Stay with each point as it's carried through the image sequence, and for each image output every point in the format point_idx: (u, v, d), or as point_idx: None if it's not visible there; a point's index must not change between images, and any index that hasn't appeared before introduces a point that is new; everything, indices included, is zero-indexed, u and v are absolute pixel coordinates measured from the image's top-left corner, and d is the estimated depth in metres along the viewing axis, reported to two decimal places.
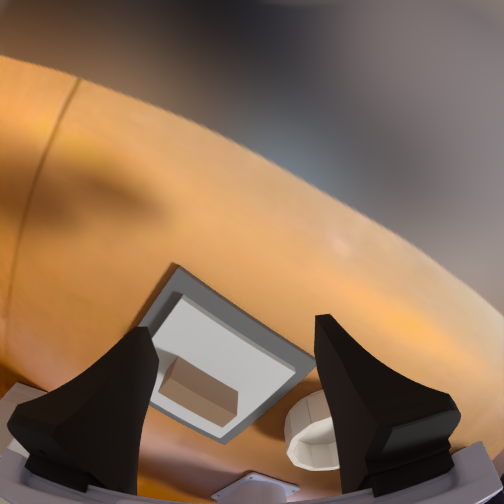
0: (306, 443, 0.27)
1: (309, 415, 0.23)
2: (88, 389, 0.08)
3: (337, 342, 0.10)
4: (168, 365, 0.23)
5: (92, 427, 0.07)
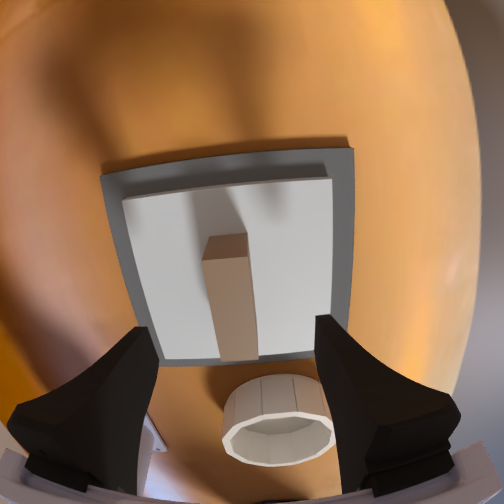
0: None
1: (295, 399, 0.19)
2: (88, 389, 0.08)
3: (337, 342, 0.10)
4: (219, 233, 0.16)
5: (92, 427, 0.07)
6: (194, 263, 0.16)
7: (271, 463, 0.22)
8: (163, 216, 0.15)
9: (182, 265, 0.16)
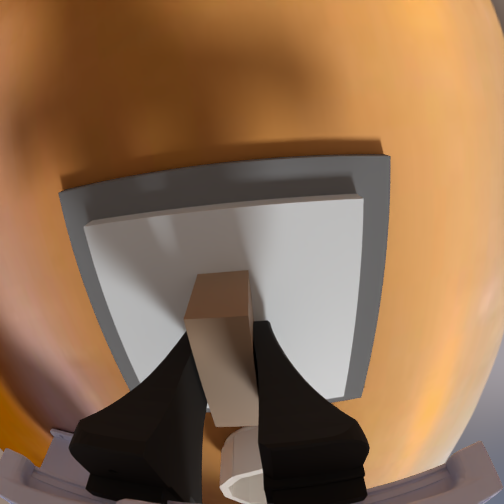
0: None
1: None
2: (162, 395, 0.07)
3: (262, 350, 0.10)
4: (210, 270, 0.12)
5: (171, 437, 0.07)
6: (179, 306, 0.12)
7: None
8: (136, 247, 0.11)
9: (164, 308, 0.12)
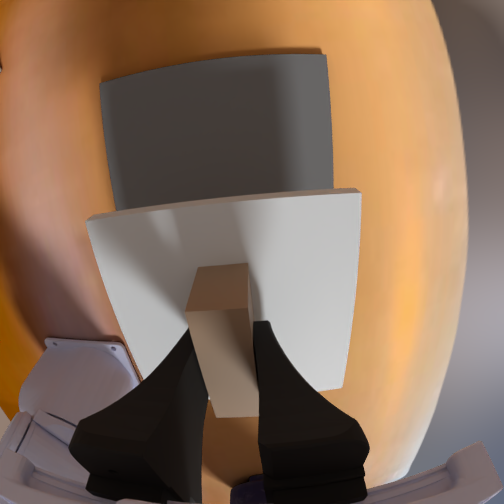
0: None
1: None
2: (162, 395, 0.07)
3: (262, 350, 0.10)
4: (210, 263, 0.12)
5: (171, 437, 0.07)
6: (180, 299, 0.13)
7: None
8: (137, 241, 0.11)
9: (165, 301, 0.13)
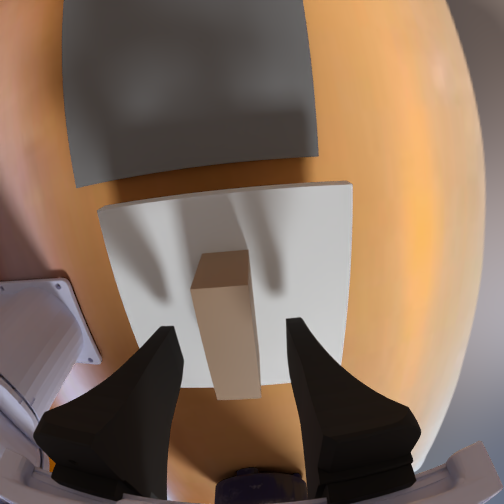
0: None
1: None
2: (121, 393, 0.07)
3: (302, 346, 0.10)
4: (214, 250, 0.13)
5: (127, 433, 0.07)
6: (184, 285, 0.14)
7: None
8: (146, 229, 0.12)
9: (170, 287, 0.14)
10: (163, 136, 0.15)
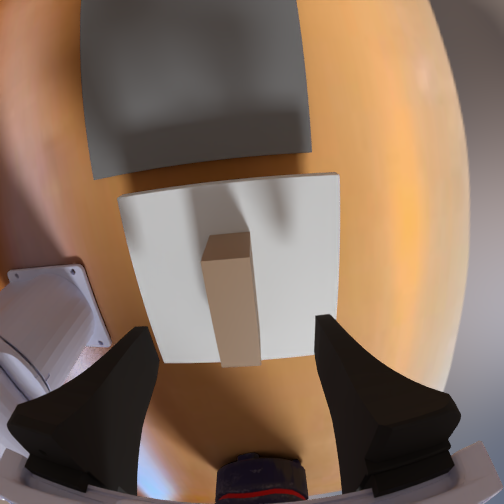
0: None
1: None
2: (88, 389, 0.08)
3: (337, 342, 0.10)
4: (220, 232, 0.15)
5: (92, 427, 0.07)
6: (194, 263, 0.16)
7: None
8: (161, 214, 0.14)
9: (181, 266, 0.16)
10: (174, 134, 0.17)
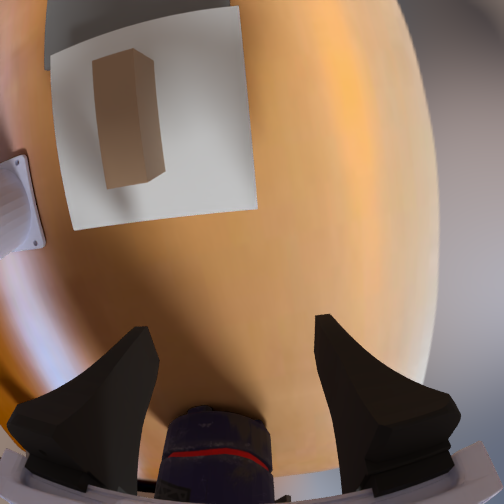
0: None
1: None
2: (88, 389, 0.08)
3: (337, 342, 0.10)
4: None
5: (92, 427, 0.07)
6: None
7: None
8: (81, 59, 0.12)
9: (91, 104, 0.13)
10: (112, 20, 0.14)
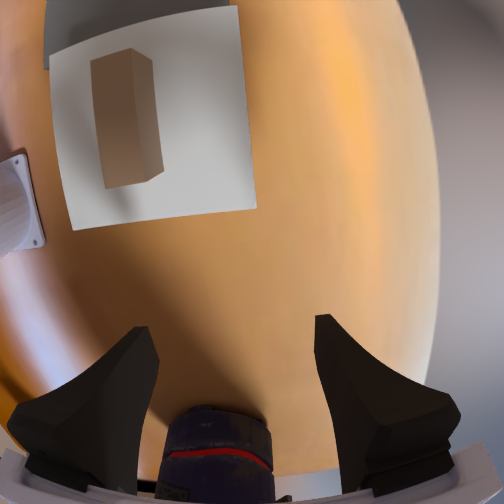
0: None
1: None
2: (88, 389, 0.08)
3: (337, 342, 0.10)
4: None
5: (92, 427, 0.07)
6: None
7: None
8: (79, 59, 0.12)
9: (90, 104, 0.13)
10: (111, 19, 0.14)
